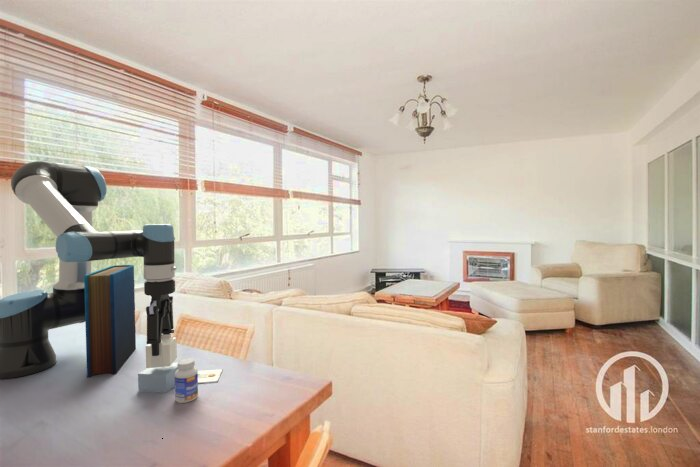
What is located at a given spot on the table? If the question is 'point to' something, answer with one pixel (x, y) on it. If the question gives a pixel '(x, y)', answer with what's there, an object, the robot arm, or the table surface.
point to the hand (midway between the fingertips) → (161, 361)
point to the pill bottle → (186, 381)
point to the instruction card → (209, 376)
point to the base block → (157, 379)
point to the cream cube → (164, 352)
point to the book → (109, 318)
